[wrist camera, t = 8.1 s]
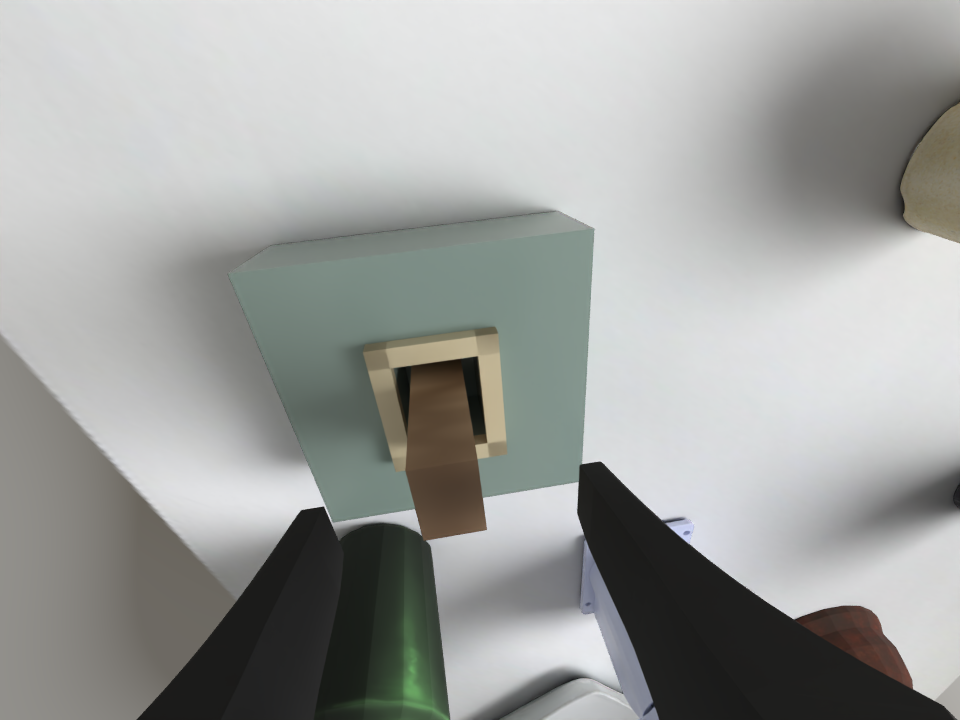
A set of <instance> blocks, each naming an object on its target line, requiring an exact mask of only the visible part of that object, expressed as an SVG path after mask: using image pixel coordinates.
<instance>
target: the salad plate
mask: <svg viewBox="0 0 960 720" xmlns="http://www.w3.org/2000/svg"><path fill="white" fill-rule="evenodd" d="M638 719H640V718H639V717H638V716H637V714H636V713H635V712H634V711H633V709H632V708H631V707H630V705H629V703H628V702H627V700H626V698H625V695H624V694H622V693H619V692H617V691H615V690H613V689H611V688H609V687H607V686H605V685H603V684H601V683H599V682H597V681H595V680H592V679H588V678H580V679H576V680H573V681H570V682H568V683H565V684H563V685H561V686H559V687H557V688H555V689H553V690H551V691H549V692H547V693H546V694H544V695H542V696H540V697H538V698H537V699H535V700H533V701H531V702H529V703H527V704H526V705H524V706H522V707H520V708H518V709H517V710H515V711H513V712H511V713H510V714H508V715H506V716H504V717H503V718H501V719H499V720H638Z"/></svg>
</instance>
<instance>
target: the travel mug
mask: <svg viewBox="0 0 960 720" xmlns="http://www.w3.org/2000/svg"><path fill="white" fill-rule="evenodd" d="M954 503H955V504H956V505H957V506H958V508H960V485H959V487H958V488H957V490H956V492H955V495H954Z"/></svg>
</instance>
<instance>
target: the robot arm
mask: <svg viewBox="0 0 960 720" xmlns="http://www.w3.org/2000/svg"><path fill="white" fill-rule="evenodd" d="M577 514H578V517H579V520H580V523H581V526H582V529H583V532H584V535H585V538H586V540H585V542H584V555H583V570H582V585H581V601H580V609H581V612H582V613H583V614H590V613H594V614H595V617H596V619H597V622H598V625H599V628H600V630H601V633H602V636H603V639H604V641H605V644H606V647H607V650H608V653H609V655H610V658H611V661H612V664H613V666H614V669H615V672H616V675H617V677H618V680H619V683H620V686H621V688H622V691H623V693H624V695H625V698H626V700H627V702H628V703H629V705H630V707H631V708H632V709H633V711H634V712H635V713H636V714H637V716H638V717H639V718H640V719H638V720H957V719H956V718H955V717H954V716H953V715H952V714H951V713H950V712H949V711H948V710H947V709H946V708H945V707H944V706H942V705H941V704H939V703H937V702H935V701H933V700H932V699H930V698H928V697H926V696H924V695H922V694H921V693H919V692H917V691H915V690H913V689H911V688H910V687H908V686H906V685H904V684H902V683H900V682H898V681H897V680H895V679H893V678H891V677H889V676H887V675H886V674H884V673H882V672H880V671H878V670H876V669H875V668H873V667H871V666H869V665H867V664H866V663H864V662H862V661H860V660H859V659H857V658H855V657H854V656H852V655H850V654H848V653H847V652H845V651H843V650H842V649H840V648H838V647H837V646H835V645H833V644H832V643H830V642H828V641H827V640H825V639H823V638H821V637H820V636H818V635H817V634H815V633H814V632H812V631H811V630H809V629H808V628H806V627H804V626H803V625H801V624H800V623H798V622H797V621H795V620H794V619H792V618H790V617H789V616H787V615H786V614H784V613H783V612H781V611H780V610H778V609H776V608H775V607H773V606H772V605H770V604H769V603H767V602H766V601H764V600H763V599H761V598H760V597H759V596H757V595H756V594H754V593H753V592H752V591H750V590H749V589H747V588H746V587H744V586H743V585H742V584H740V583H739V582H737V581H736V580H735V579H733V578H732V577H731V576H729V575H728V574H727V573H725V572H724V571H723V570H721V569H720V568H719V567H717V566H716V565H715V564H713V563H712V562H711V561H710V560H708V559H707V558H706V557H704V556H703V555H702V554H701V553H699V552H698V551H697V550H696V549H695V548H693V547H692V546H691V545H690V544H689V543H690V540H691V536H692V533H693V529H694V524H693V523H692V521H691V520H681V521H675V522H669V523H664V522H663V521H662V520H661V519H660V518H659V517H658V516H656V515H655V514H654V513H653V512H652V511H651V510H650V509H649V508H648V507H647V506H646V505H644V504H643V503H642V502H641V501H640V500H639V499H638V498H637V497H636V496H635V495H634V494H633V493H632V492H631V491H630V490H629V489H628V488H627V487H626V486H625V485H624V484H623V483H622V482H621V481H620V480H619V479H618V478H617V477H616V476H615V475H614V474H613V473H612V472H611V471H610V470H609V469H608V468H607V467H606V466H605V465H604V464H603V463H602V462H594V463H588V464H582V465H579V487H578V509H577ZM343 557H344V552H343V550H342V548H341V545H340V543H339V541H338V538H337V536H336V534H335V531H334V529H333V527H332V524H331V522H330V520H329V517H328V515H327V513H326V510H325V508H324V507H318V508H312V509H306V510H301V511H300V513H299V514H298V515H297V517H296V518H295V520H294V521H293V522H292V524H291V525H290V527H289V528H288V530H287V531H286V533H285V534H284V536H283V537H282V538H281V540H280V541H279V543H278V544H277V546H276V547H275V549H274V550H273V552H272V553H271V554H270V556H269V557H268V559H267V560H266V562H265V563H264V564H263V566H262V567H261V569H260V570H259V571H258V573H257V574H256V576H255V577H254V578H253V580H252V581H251V582H250V584H249V585H248V587H247V588H246V589H245V591H244V592H243V594H242V595H241V596H240V598H239V599H238V600H237V602H236V603H235V604H234V605H233V607H232V608H231V609H230V611H229V612H228V613H227V614H226V616H225V617H224V618H223V620H222V621H221V622H220V624H219V625H218V626H217V627H216V629H215V630H214V631H213V632H212V634H211V635H210V636H209V638H208V639H207V640H206V641H205V642H204V644H203V645H202V646H201V647H200V649H199V650H198V651H197V652H196V653H195V655H194V656H193V657H192V658H191V659H190V661H189V662H188V663H187V664H186V665H185V667H184V668H183V669H182V670H181V671H180V672H179V673H178V675H177V676H176V677H175V678H174V679H173V680H172V681H171V683H170V684H169V685H168V686H167V687H166V688H165V689H164V691H163V692H162V693H161V694H160V695H159V696H158V697H157V698H156V699H155V700H154V701H153V703H152V704H151V705H150V706H149V707H148V708H147V709H146V710H145V711H144V712H143V713H142V715H141V716H140V717H139V718H138V719H137V720H314V714H315V709H316V703H317V698H318V692H319V687H320V683H321V678H322V674H323V669H324V664H325V660H326V655H327V651H328V646H329V642H330V637H331V633H332V628H333V623H334V619H335V614H336V609H337V604H338V600H339V595H340V587H341V579H342V568H343Z"/></svg>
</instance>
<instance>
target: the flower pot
mask: <svg viewBox="0 0 960 720" xmlns="http://www.w3.org/2000/svg"><path fill="white" fill-rule="evenodd" d="M900 191H901V194H902V197H903V199H904V203H905V212H904V214H903V217H904V219H905V221H906V222H907V223H908V224H909V225H911V226H912V227H914V228H915V229H917V230H920V231H923V232H927V233H930V234H933V235H936V236H939V237H942V238H945V239H948V240H951V241H954V242H957V243H960V103H959V104H957V105H955V106H953V107H952V108H950V109H949V110H947V111H946V112H945V113H944V114H943V115H942V116H941V117H940V118H939V119H938V120H937V122H936V123H935V124H934V125H933V126H932V127H931V129H930V130H929V131H928V132H927V134H926V135H925V136H924V138H923V139H922V141H921V142H920V144H919V146H918V147H917V149H916V150H915V152H914V154H913V156H912V158H911V160H910V161H909V163H908V165H907V168H906V170H905V173H904V176H903V179H902V182H901V186H900Z"/></svg>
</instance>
